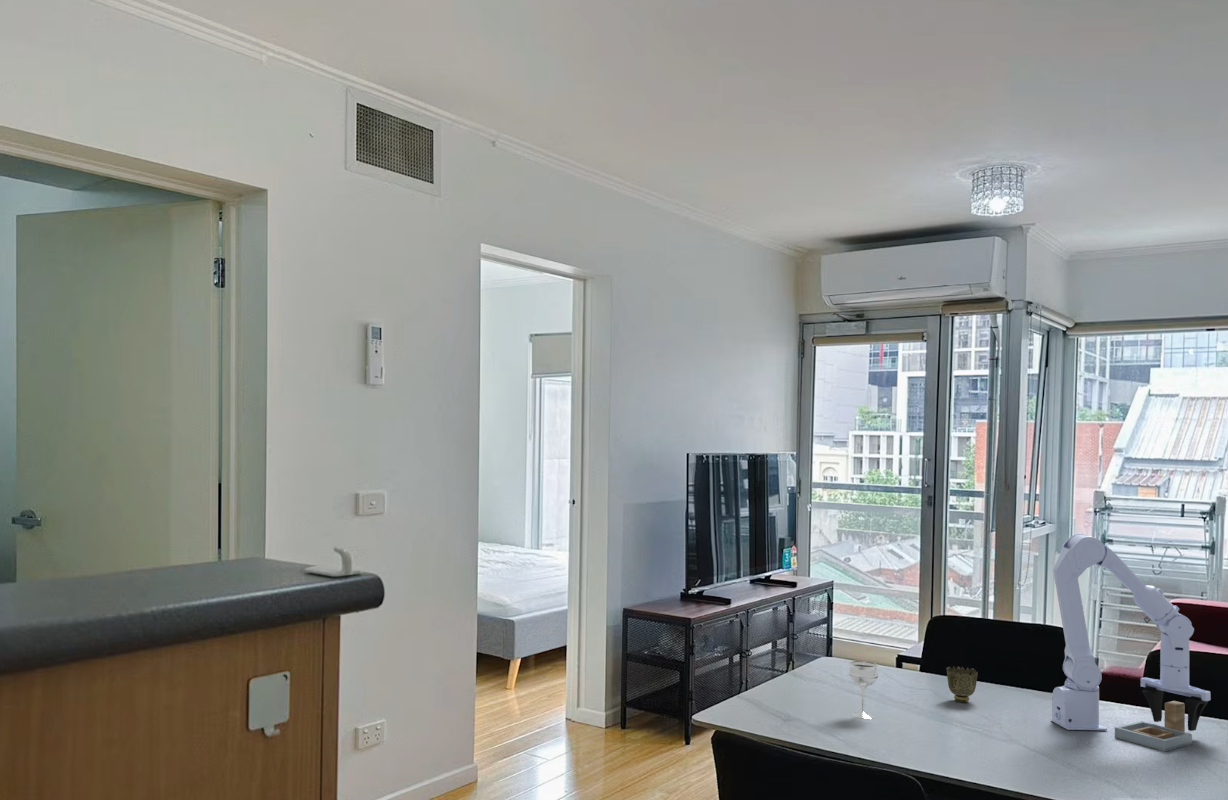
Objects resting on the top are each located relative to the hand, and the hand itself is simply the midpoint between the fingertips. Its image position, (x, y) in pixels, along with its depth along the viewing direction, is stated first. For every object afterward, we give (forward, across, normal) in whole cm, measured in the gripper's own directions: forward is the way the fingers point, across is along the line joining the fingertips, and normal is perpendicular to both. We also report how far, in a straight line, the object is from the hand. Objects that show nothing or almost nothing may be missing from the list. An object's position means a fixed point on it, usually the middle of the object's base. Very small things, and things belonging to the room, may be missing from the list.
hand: (1174, 725), depth 217 cm
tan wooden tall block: (+2, 0, 0) cm, 2 cm away
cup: (+2, +41, +21) cm, 46 cm away
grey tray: (+2, 0, +10) cm, 10 cm away
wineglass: (+2, +43, +55) cm, 70 cm away
